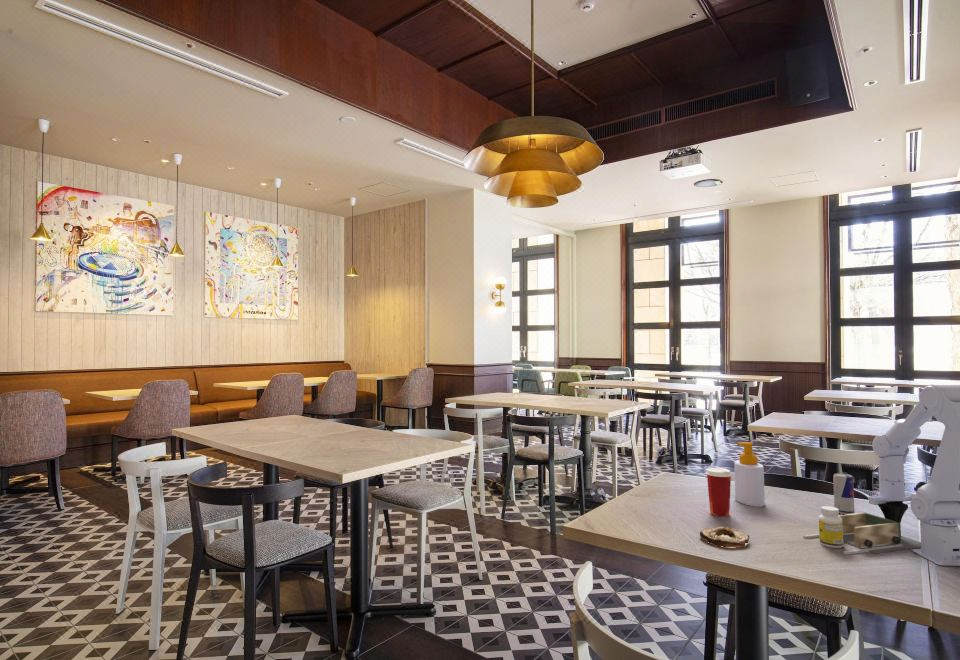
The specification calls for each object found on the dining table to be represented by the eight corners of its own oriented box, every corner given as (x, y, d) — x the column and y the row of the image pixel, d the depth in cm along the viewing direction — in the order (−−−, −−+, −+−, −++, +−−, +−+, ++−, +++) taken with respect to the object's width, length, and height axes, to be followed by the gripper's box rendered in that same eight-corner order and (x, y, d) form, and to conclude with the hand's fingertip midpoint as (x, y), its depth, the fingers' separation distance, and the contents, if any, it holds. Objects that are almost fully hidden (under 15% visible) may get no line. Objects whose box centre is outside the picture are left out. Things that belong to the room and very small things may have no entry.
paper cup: (738, 515, 171) (737, 471, 172) (719, 518, 168) (718, 473, 169) (719, 509, 179) (718, 466, 179) (701, 512, 176) (700, 468, 176)
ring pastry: (684, 535, 155) (684, 521, 155) (729, 531, 158) (729, 516, 158) (718, 554, 140) (718, 538, 141) (767, 549, 144) (766, 533, 144)
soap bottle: (729, 496, 194) (728, 439, 195) (752, 496, 193) (751, 439, 194) (746, 507, 181) (744, 446, 181) (771, 507, 180) (769, 446, 181)
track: (873, 527, 159) (873, 525, 159) (930, 546, 144) (930, 544, 144) (799, 536, 152) (799, 533, 152) (851, 556, 137) (851, 554, 137)
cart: (862, 528, 156) (861, 511, 156) (905, 543, 144) (904, 524, 144) (820, 533, 152) (820, 515, 152) (861, 548, 140) (861, 529, 140)
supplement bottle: (821, 540, 149) (819, 504, 150) (844, 544, 146) (843, 507, 146) (818, 545, 145) (816, 508, 145) (842, 550, 142) (840, 512, 142)
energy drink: (857, 515, 170) (856, 477, 171) (838, 514, 172) (837, 476, 172) (849, 510, 176) (848, 473, 176) (831, 510, 177) (830, 473, 177)
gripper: (897, 474, 157) (899, 522, 157) (857, 477, 153) (859, 526, 153) (922, 480, 150) (924, 529, 150) (881, 483, 147) (883, 534, 146)
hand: (893, 528), depth 151 cm, fingers closed
